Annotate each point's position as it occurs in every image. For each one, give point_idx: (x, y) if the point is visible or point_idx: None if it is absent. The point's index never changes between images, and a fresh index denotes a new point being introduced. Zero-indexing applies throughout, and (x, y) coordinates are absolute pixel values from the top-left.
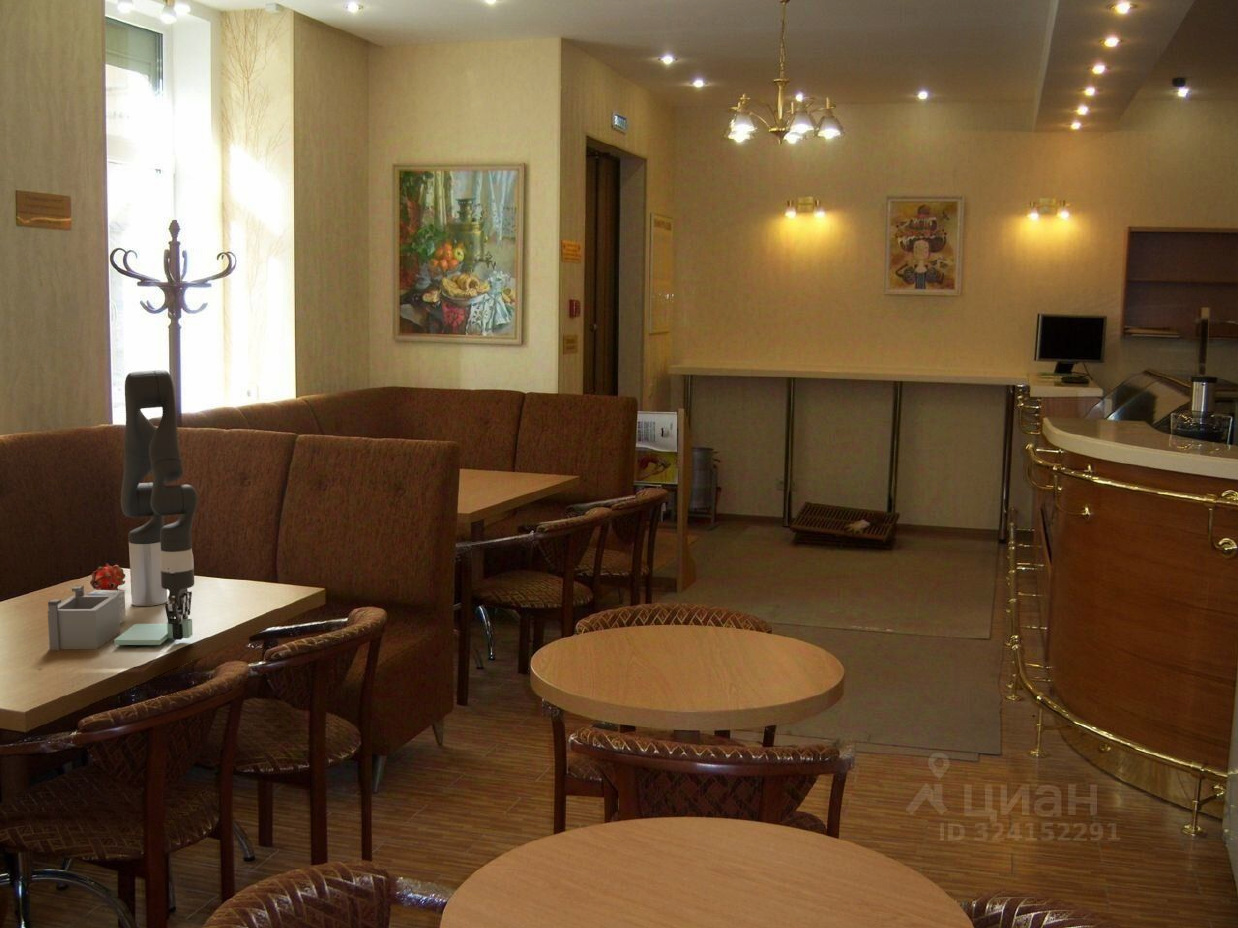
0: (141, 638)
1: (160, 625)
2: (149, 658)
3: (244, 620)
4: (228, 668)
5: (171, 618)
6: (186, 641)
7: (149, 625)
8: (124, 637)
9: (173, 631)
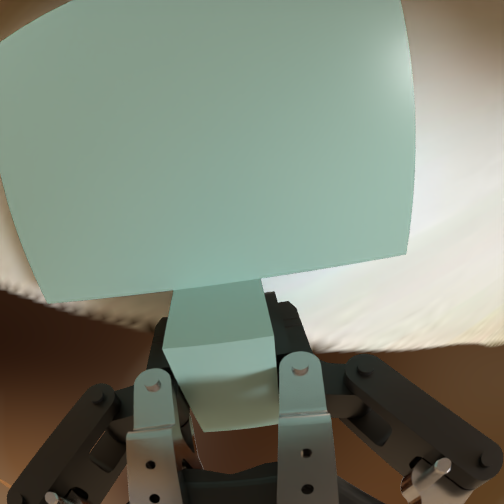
0: (27, 187)
1: (376, 151)
2: (3, 266)
3: (479, 337)
4: None
5: (136, 411)
6: None
7: (372, 70)
8: (29, 62)
9: (151, 346)
